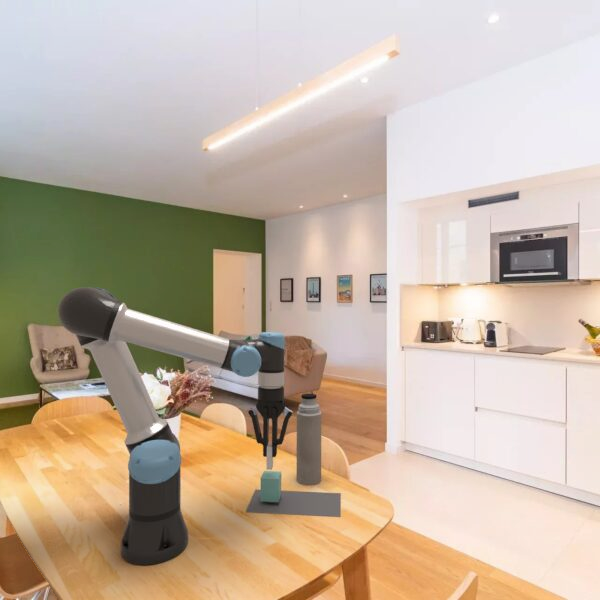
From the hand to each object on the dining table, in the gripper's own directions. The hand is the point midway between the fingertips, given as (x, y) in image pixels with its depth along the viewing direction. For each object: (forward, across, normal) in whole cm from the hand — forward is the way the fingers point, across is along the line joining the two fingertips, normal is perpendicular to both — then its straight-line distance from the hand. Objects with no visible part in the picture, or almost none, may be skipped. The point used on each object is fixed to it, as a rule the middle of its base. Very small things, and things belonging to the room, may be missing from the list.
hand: (269, 467), depth 124 cm
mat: (+10, -8, 0) cm, 13 cm away
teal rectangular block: (+9, 0, 0) cm, 9 cm away
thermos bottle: (+10, -10, -16) cm, 21 cm away
